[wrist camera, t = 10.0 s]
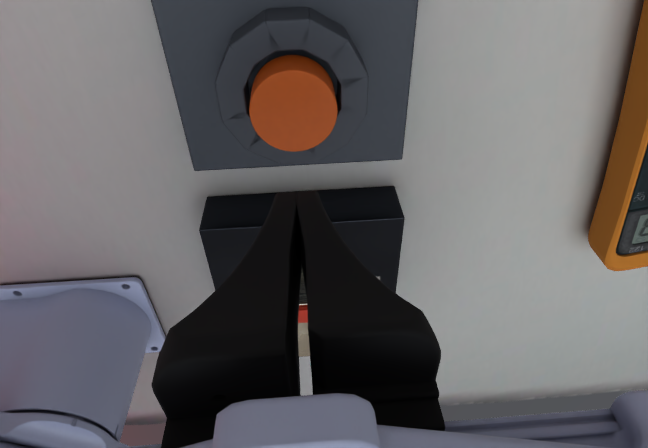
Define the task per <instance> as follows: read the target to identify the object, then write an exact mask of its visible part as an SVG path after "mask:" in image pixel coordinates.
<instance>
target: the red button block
mask: <svg viewBox="0 0 648 448" xmlns="http://www.w3.org/2000/svg"><path fill="white" fill-rule="evenodd" d="M298 348H299V357H303V356H310V348H309V336H308V312H307V296H306V289H305V283H304V276H303V270H302V269H301V285H300V301H299V316H298Z"/></svg>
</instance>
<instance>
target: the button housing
mask: <svg viewBox="0 0 648 448" xmlns="http://www.w3.org/2000/svg"><path fill="white" fill-rule="evenodd" d="M151 2H152V6H153V10H154V14H155V18H156V22H157V26H158V29H159V33H160V37H161V41H162V45H163V49H164V53H165V57H166V61H167V65H168V69H169V73H170V77H171V81H172V85H173V89H174V93H175V96H176V100H177V104H178V108H179V112H180V116H181V120H182V124H183V128H184V132H185V136H186V140H187V144H188V148H189V152H190V156H191V160H192V164H193V167H194V170H195V171H202V170H220V169H238V168H255V167H273V166H291V165H309V164H327V163H345V162H363V161H381V160H399V159H402V154H403V145H404V135H405V125H406V115H407V106H408V96H409V86H410V76H411V67H412V57H413V47H414V37H415V28H416V18H417V8H418V0H151ZM284 55H300V56H304V57H308V58H310V59H312V60H314V61H316V62H317V63H318V64H320V65H321V66H322V67H323V68H324V69H325V70H326V72H327V73H328V74H329V76H330V78H331V80H332V83H333V87H334V92H335V97H336V102H337V110H338V112H337V120H336V123H335V126H334V128H333V130H332V132H331V133H330V134H329V136H328V137H327V138H326V139H325V140H324V141H323V142H321V143H320V144H319V145H317V146H315V147H313V148H311V149H308V150H304V151H297V152H291V151H284V150H280V149H277V148H275V147H273V146H271V145H269V144H268V143H266V142H265V141H264V140H263V139H262V138H261V137H260V136H259V135H258V134H257V132H256V131H255V129H254V127H253V125H252V123H251V120H250V114H249V106H250V98H251V92H252V86H253V82H254V79H255V77H256V75H257V73H258V72H259V71H260V69H261V68H262V67H263V66H264V65H265V64H267V63H268V62H269V61H271V60H273V59H275V58H277V57H280V56H284Z"/></svg>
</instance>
